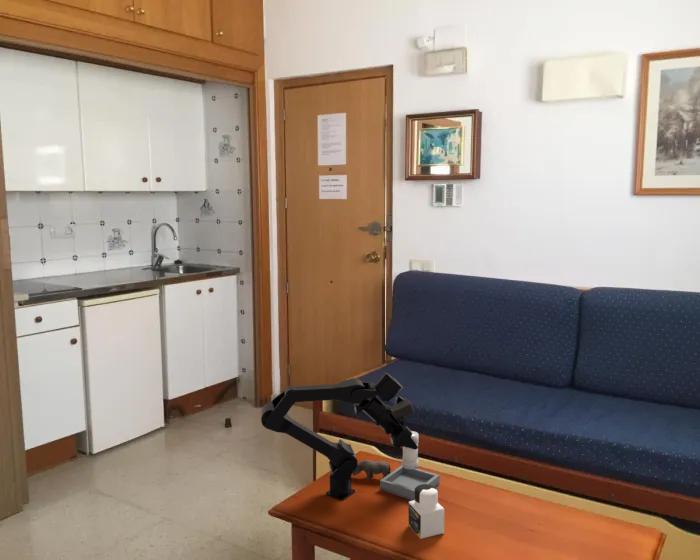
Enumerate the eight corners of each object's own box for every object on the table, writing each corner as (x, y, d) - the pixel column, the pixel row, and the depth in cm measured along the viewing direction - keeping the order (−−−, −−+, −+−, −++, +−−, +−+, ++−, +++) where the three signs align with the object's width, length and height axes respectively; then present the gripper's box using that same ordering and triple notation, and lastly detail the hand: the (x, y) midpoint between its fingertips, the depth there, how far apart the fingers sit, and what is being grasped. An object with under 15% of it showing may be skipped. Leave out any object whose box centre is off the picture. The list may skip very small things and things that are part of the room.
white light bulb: (416, 470, 190) (416, 438, 188) (400, 468, 191) (400, 436, 190) (419, 463, 194) (420, 432, 193) (404, 461, 196) (404, 430, 194)
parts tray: (417, 502, 185) (417, 492, 185) (380, 489, 193) (380, 480, 192) (439, 484, 196) (439, 475, 195) (402, 473, 203) (402, 464, 203)
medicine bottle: (408, 525, 173) (408, 484, 171) (431, 520, 175) (431, 479, 173) (420, 539, 166) (420, 496, 164) (444, 533, 169) (444, 491, 167)
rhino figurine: (349, 473, 204) (349, 456, 203) (392, 476, 201) (392, 458, 200) (347, 479, 200) (346, 461, 199) (391, 483, 197) (390, 464, 196)
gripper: (405, 403, 179) (442, 437, 183) (390, 382, 198) (425, 414, 201) (377, 431, 180) (415, 465, 183) (365, 408, 198) (400, 439, 201)
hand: (414, 444), depth 192 cm, fingers closed on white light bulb, 5 cm apart
